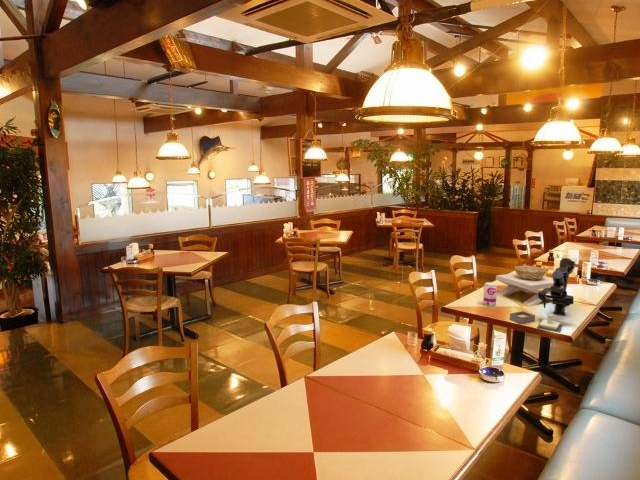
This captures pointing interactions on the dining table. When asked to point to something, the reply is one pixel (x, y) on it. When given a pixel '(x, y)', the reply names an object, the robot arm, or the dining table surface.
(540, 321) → the rubber mat
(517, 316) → the storage box
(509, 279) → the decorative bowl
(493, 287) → the supplement can
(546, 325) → the lid
